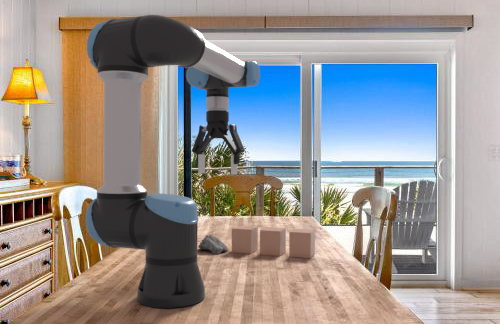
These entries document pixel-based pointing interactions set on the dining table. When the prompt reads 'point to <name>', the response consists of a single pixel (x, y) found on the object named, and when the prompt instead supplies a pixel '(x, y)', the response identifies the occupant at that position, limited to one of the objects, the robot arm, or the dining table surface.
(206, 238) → the fossilized seashell
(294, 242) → the salmon pink box
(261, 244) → the cover mid
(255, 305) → the dining table surface
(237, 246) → the peach colored cube
